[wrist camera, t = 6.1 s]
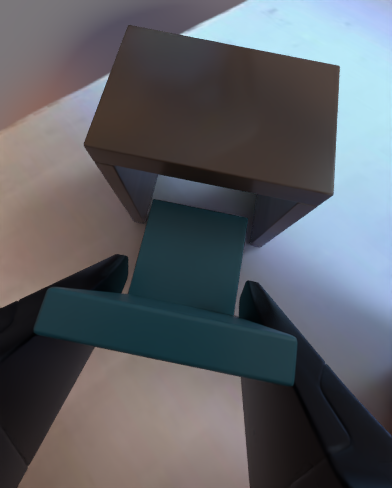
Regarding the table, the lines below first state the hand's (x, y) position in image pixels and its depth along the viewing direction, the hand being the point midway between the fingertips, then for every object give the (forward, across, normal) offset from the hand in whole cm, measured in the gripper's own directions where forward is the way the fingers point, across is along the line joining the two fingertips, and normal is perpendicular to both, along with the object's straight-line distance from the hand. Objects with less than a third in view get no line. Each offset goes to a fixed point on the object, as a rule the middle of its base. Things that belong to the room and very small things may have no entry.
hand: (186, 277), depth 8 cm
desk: (+9, 0, 0) cm, 9 cm away
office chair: (+5, 0, +4) cm, 7 cm away
